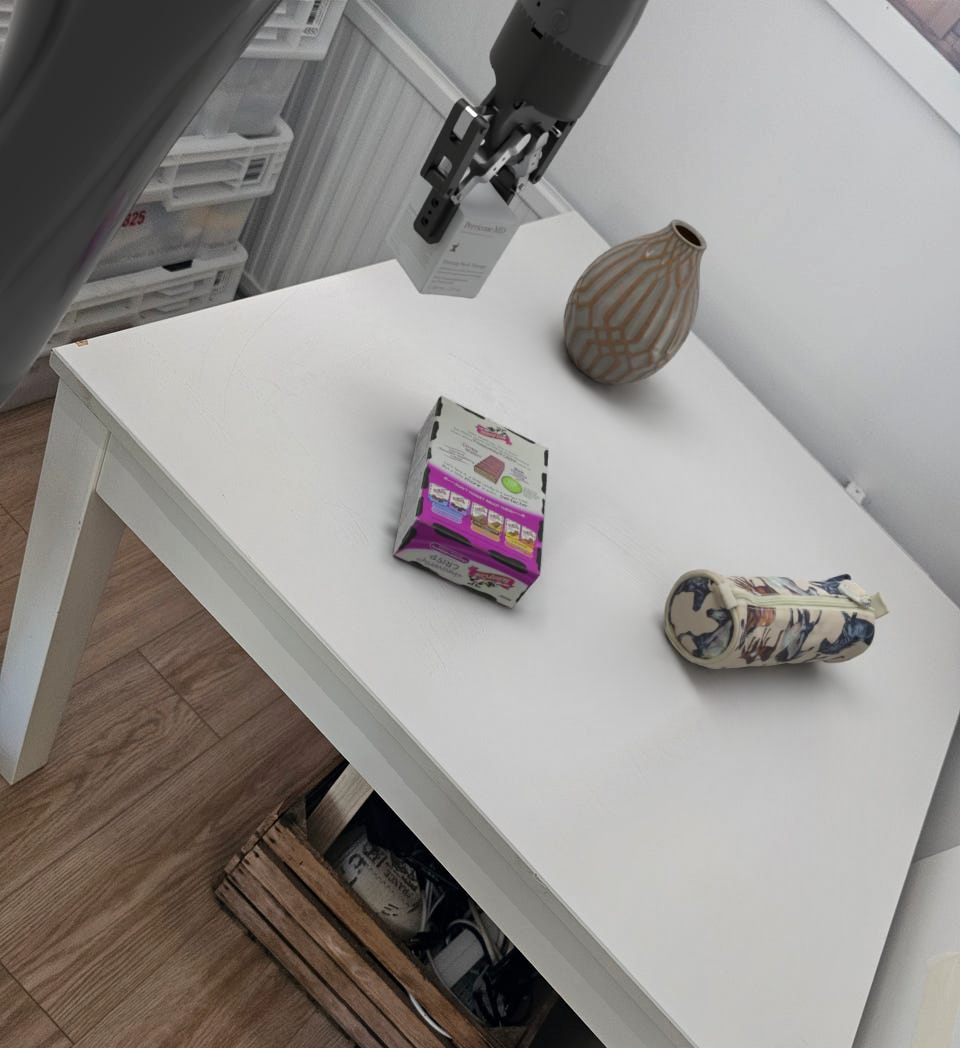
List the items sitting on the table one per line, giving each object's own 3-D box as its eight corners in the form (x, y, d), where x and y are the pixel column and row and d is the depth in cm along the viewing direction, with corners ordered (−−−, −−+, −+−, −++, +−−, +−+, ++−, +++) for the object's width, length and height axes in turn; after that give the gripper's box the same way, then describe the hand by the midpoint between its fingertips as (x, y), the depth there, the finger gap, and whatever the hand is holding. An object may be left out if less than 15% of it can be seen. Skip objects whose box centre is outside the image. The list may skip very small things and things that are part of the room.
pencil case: (791, 611, 106) (861, 553, 100) (831, 682, 102) (906, 626, 96) (637, 608, 94) (705, 541, 87) (676, 689, 90) (750, 624, 83)
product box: (417, 295, 79) (463, 215, 74) (381, 241, 81) (423, 159, 76) (476, 300, 83) (523, 224, 78) (440, 248, 85) (484, 171, 80)
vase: (527, 349, 110) (622, 212, 98) (562, 305, 120) (652, 175, 108) (625, 423, 111) (730, 296, 100) (652, 374, 121) (750, 253, 109)
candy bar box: (510, 613, 85) (524, 484, 96) (541, 577, 81) (553, 447, 92) (387, 557, 81) (416, 430, 92) (414, 517, 78) (441, 390, 89)
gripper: (581, -8, 74) (469, 189, 85) (473, -21, 63) (361, 206, 74) (655, 61, 73) (533, 251, 84) (558, 60, 63) (433, 278, 74)
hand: (452, 230), depth 79 cm, fingers closed on product box, 7 cm apart
